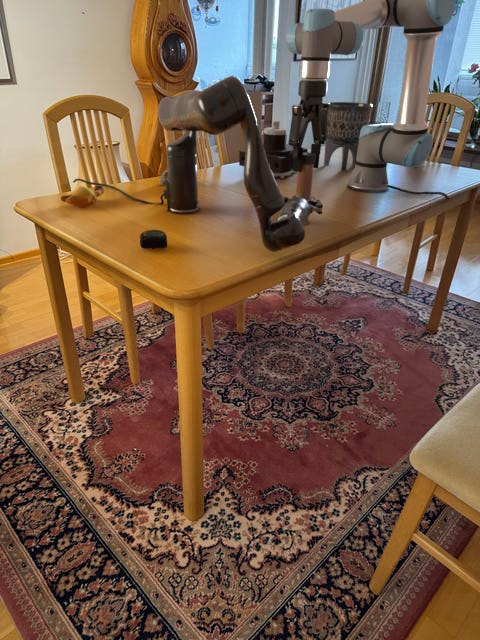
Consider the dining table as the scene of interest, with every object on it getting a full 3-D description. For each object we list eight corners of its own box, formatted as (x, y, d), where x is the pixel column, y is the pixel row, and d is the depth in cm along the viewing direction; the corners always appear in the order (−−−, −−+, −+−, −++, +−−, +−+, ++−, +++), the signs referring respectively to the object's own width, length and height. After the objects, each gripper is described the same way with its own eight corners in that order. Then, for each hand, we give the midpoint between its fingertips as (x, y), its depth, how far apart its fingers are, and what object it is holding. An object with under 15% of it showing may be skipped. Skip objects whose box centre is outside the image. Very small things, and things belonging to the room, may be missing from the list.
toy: (54, 197, 144) (75, 185, 156) (65, 216, 146) (84, 202, 159) (84, 187, 140) (103, 175, 153) (94, 206, 143) (111, 193, 156)
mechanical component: (240, 120, 182) (283, 115, 202) (239, 174, 192) (280, 164, 212) (283, 126, 170) (325, 120, 190) (280, 183, 180) (320, 171, 200)
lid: (315, 164, 128) (316, 155, 126) (297, 163, 128) (297, 155, 127) (314, 160, 132) (315, 152, 131) (297, 159, 132) (298, 151, 131)
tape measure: (140, 252, 115) (139, 238, 113) (141, 242, 120) (140, 229, 119) (167, 251, 116) (166, 237, 114) (167, 241, 121) (166, 228, 120)
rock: (185, 178, 183) (185, 162, 179) (198, 183, 177) (198, 166, 174) (157, 184, 175) (156, 166, 172) (169, 189, 170) (168, 171, 166)
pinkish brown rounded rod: (296, 224, 137) (302, 157, 127) (291, 220, 140) (297, 154, 131) (310, 224, 138) (316, 157, 128) (305, 219, 141) (311, 154, 131)
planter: (313, 167, 208) (319, 103, 195) (331, 160, 222) (338, 101, 209) (353, 173, 199) (362, 107, 185) (369, 166, 213) (379, 104, 199)
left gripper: (322, 203, 120) (329, 188, 135) (269, 198, 123) (281, 184, 138) (319, 230, 124) (326, 213, 138) (268, 225, 127) (280, 208, 141)
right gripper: (324, 78, 128) (316, 162, 139) (277, 79, 116) (272, 172, 127) (347, 79, 123) (336, 166, 135) (301, 81, 111) (293, 176, 123)
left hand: (304, 198), depth 138 cm, fingers closed on pinkish brown rounded rod, 4 cm apart
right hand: (305, 169), depth 131 cm, fingers open, 7 cm apart
